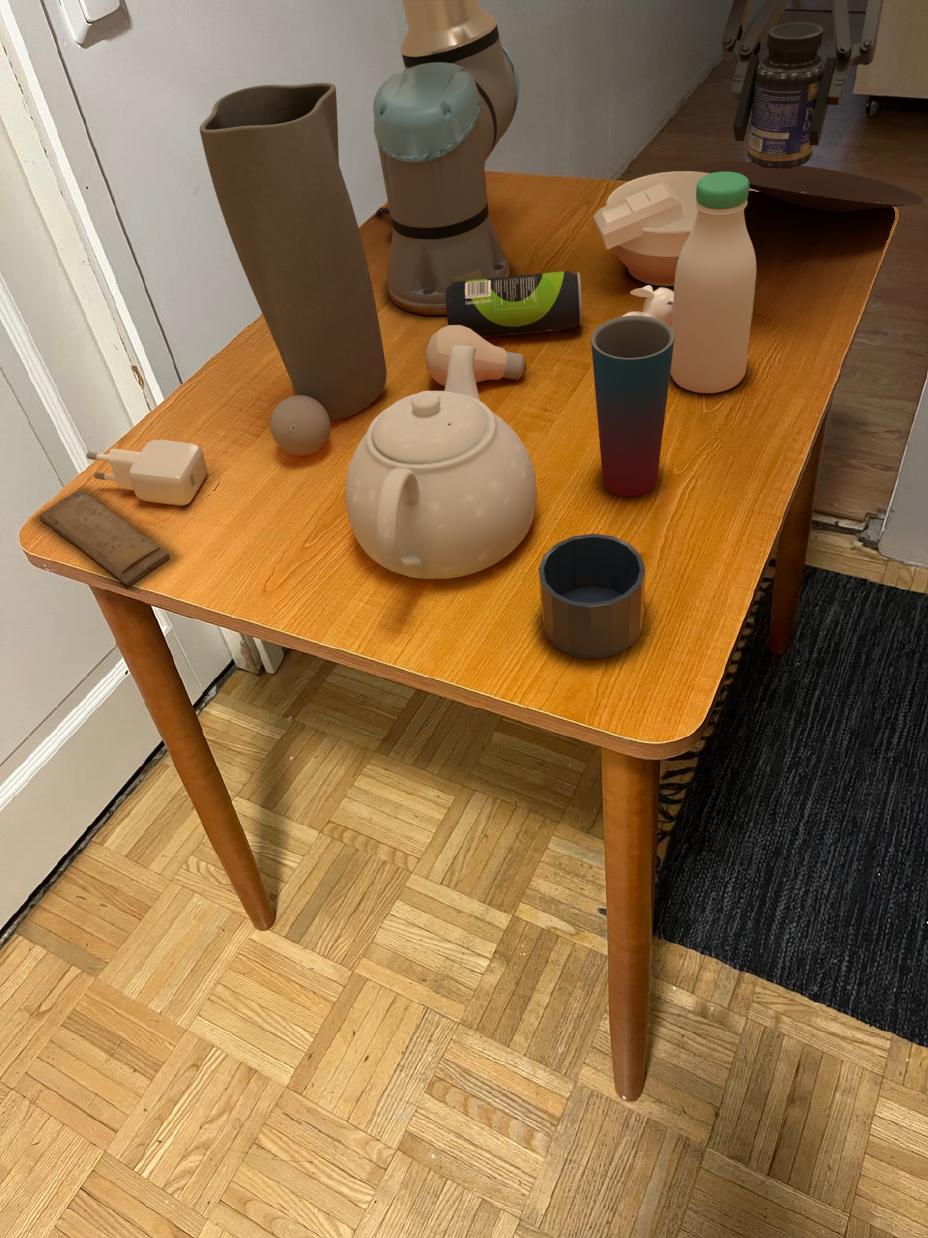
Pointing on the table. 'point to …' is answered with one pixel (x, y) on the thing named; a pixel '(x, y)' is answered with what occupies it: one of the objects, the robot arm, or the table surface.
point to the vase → (299, 238)
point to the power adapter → (157, 471)
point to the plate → (818, 187)
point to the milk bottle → (714, 289)
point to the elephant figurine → (655, 303)
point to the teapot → (441, 482)
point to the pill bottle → (786, 97)
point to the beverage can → (516, 304)
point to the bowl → (659, 229)
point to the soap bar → (637, 214)
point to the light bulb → (486, 360)
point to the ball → (300, 425)
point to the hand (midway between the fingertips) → (775, 135)
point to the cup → (631, 399)
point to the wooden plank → (104, 537)
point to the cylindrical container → (592, 595)
